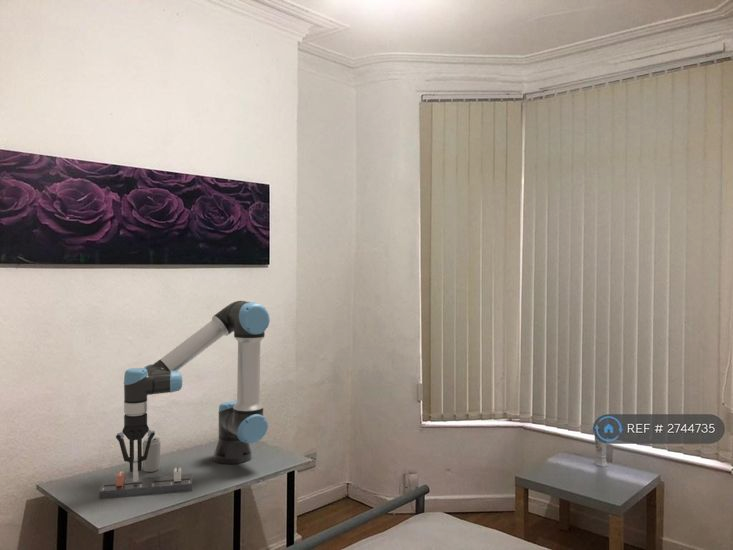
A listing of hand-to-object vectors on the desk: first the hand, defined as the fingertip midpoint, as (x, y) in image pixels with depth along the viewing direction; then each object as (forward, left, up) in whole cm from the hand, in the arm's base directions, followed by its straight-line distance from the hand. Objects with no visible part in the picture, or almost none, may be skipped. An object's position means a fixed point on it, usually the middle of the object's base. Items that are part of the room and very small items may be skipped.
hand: (135, 480), depth 210 cm
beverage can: (-4, -20, -4) cm, 21 cm away
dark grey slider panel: (-4, 0, -4) cm, 5 cm away
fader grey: (-14, 0, -1) cm, 14 cm away
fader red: (+5, 0, -1) cm, 5 cm away
